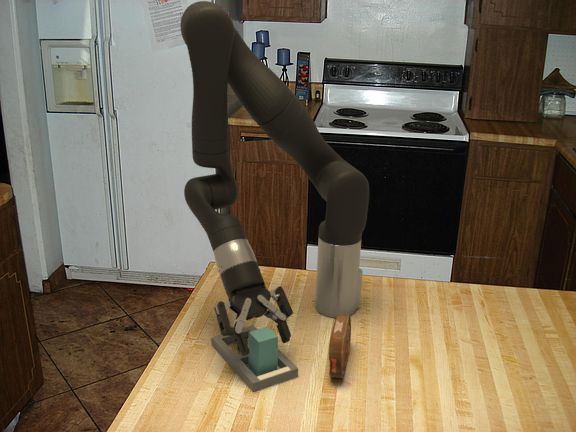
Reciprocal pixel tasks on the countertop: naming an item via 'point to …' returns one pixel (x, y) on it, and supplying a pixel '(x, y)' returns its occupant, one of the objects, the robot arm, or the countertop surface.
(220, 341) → the frame
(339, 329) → the tin
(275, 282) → the countertop surface
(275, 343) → the block
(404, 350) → the countertop surface
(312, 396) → the countertop surface
